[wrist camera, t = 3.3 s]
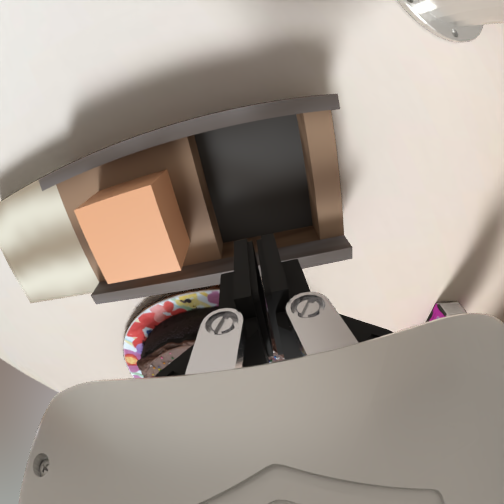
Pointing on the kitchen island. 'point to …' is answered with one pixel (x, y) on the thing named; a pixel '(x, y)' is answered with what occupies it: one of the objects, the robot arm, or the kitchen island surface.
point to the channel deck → (191, 199)
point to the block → (135, 228)
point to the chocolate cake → (171, 331)
